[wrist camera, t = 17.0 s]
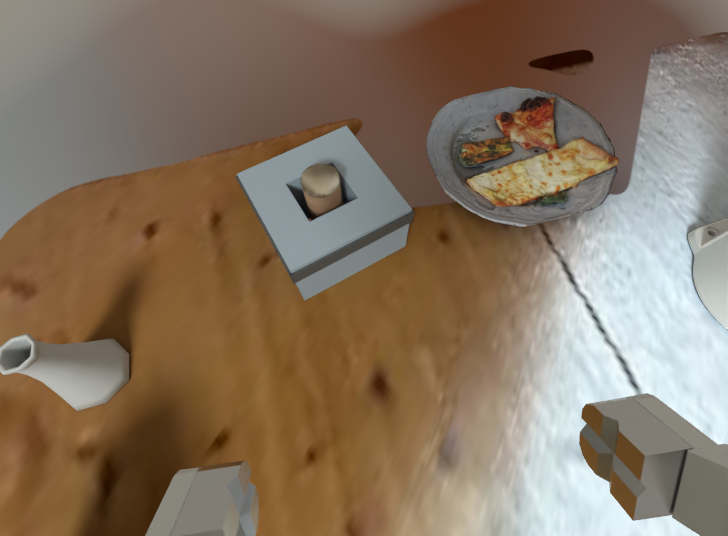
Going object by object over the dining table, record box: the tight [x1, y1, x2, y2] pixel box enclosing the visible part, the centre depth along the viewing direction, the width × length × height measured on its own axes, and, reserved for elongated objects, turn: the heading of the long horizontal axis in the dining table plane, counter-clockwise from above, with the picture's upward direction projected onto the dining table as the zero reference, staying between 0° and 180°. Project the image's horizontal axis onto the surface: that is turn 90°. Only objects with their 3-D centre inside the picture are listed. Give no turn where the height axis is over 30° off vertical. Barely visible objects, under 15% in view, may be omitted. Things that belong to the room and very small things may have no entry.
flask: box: [0, 334, 129, 411], centre depth 34 cm, size 7×7×10 cm
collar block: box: [236, 126, 414, 300], centre depth 42 cm, size 14×14×8 cm
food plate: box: [427, 86, 619, 227], centre depth 49 cm, size 25×23×4 cm
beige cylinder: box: [301, 163, 343, 220], centre depth 41 cm, size 4×4×10 cm
